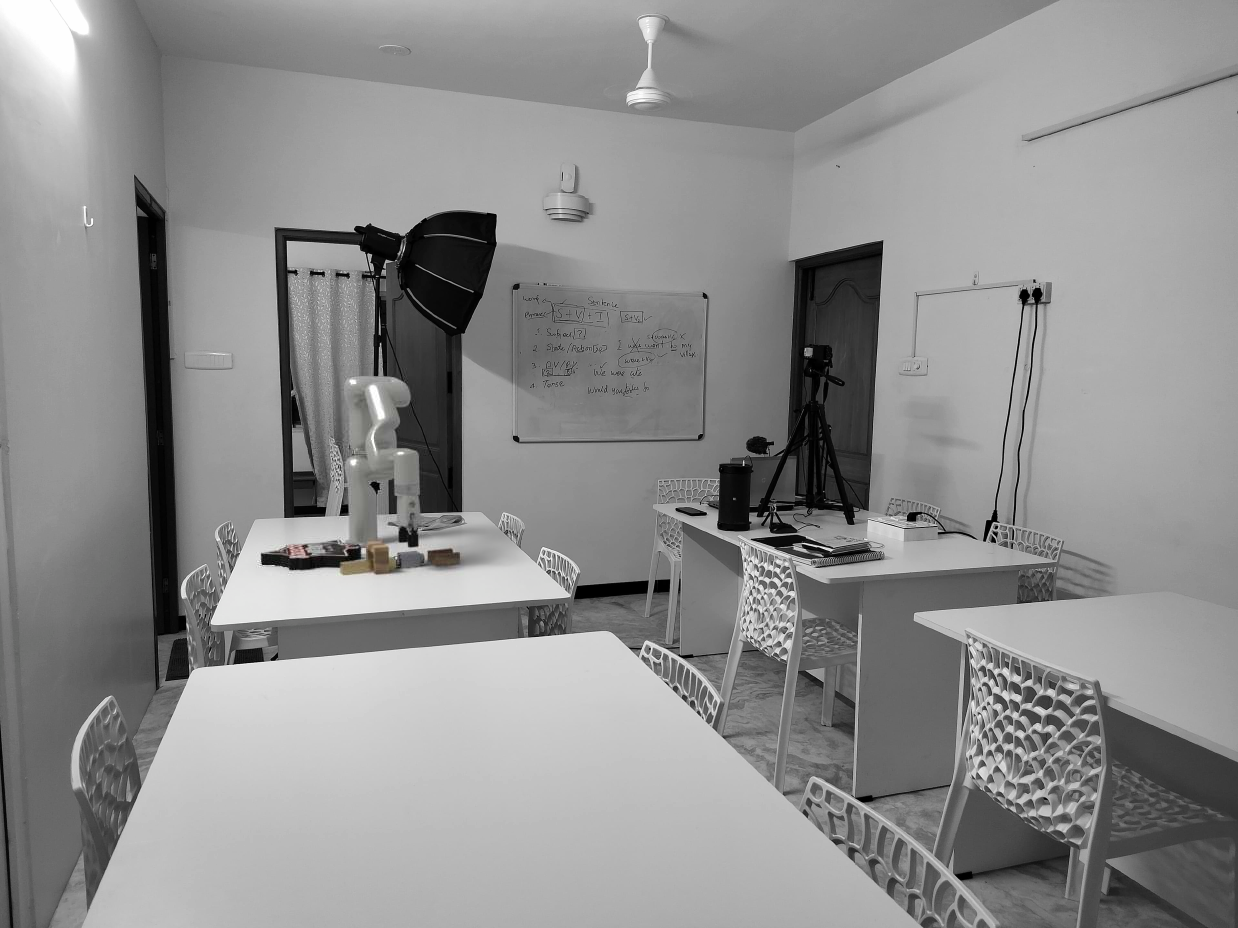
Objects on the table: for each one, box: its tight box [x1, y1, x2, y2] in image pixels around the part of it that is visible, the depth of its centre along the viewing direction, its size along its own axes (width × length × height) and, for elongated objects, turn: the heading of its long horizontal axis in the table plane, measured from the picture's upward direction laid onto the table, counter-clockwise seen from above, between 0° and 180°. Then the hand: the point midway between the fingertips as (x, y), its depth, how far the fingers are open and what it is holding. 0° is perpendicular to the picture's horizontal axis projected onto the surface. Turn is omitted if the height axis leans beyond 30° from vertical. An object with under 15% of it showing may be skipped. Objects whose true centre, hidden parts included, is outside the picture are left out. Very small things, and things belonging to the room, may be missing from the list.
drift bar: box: [339, 556, 397, 576], centre depth 247 cm, size 16×3×4 cm, turn 121°
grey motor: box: [393, 550, 426, 570], centre depth 254 cm, size 9×4×4 cm, turn 121°
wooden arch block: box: [365, 540, 390, 575], centre depth 249 cm, size 12×4×8 cm, turn 31°
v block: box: [426, 547, 461, 567], centre depth 260 cm, size 8×8×4 cm
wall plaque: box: [260, 539, 362, 571], centre depth 260 cm, size 28×4×30 cm
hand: (408, 544), depth 253 cm, fingers open, 9 cm apart
